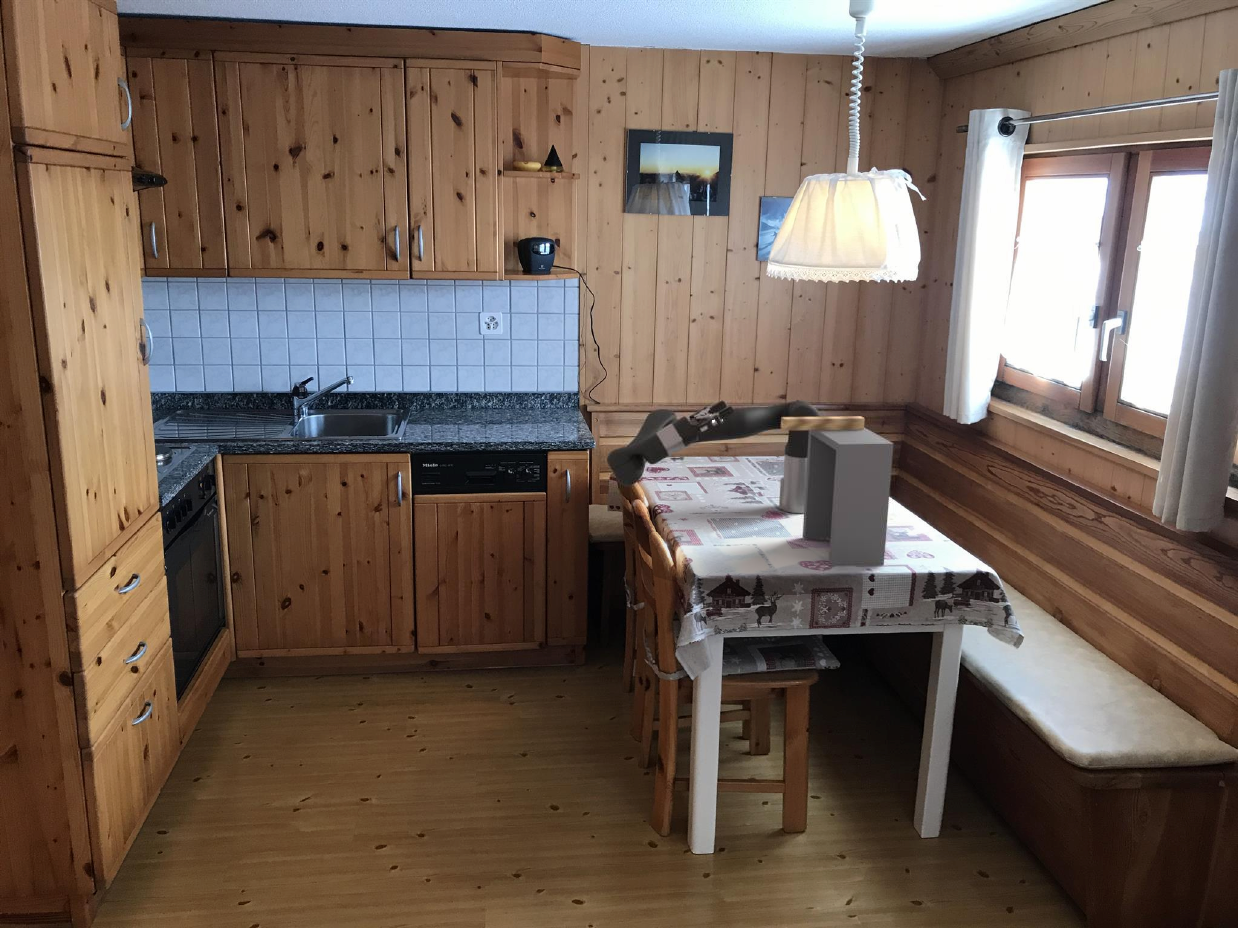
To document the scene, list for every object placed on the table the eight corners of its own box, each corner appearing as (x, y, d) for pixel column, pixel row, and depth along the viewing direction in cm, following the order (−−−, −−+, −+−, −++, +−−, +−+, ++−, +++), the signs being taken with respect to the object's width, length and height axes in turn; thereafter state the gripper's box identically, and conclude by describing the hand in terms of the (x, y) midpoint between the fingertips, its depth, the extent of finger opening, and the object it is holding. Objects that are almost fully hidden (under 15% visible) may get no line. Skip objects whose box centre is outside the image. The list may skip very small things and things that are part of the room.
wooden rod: (784, 430, 266) (784, 419, 265) (780, 428, 269) (781, 417, 268) (863, 429, 269) (864, 418, 268) (859, 427, 272) (860, 416, 271)
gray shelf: (831, 566, 258) (839, 444, 250) (802, 537, 281) (809, 425, 274) (883, 564, 260) (893, 443, 252) (850, 536, 283) (858, 424, 275)
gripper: (678, 442, 281) (728, 413, 281) (688, 453, 267) (741, 423, 267) (665, 419, 279) (716, 390, 279) (675, 429, 265) (728, 399, 265)
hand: (728, 406), depth 273 cm, fingers open, 8 cm apart
